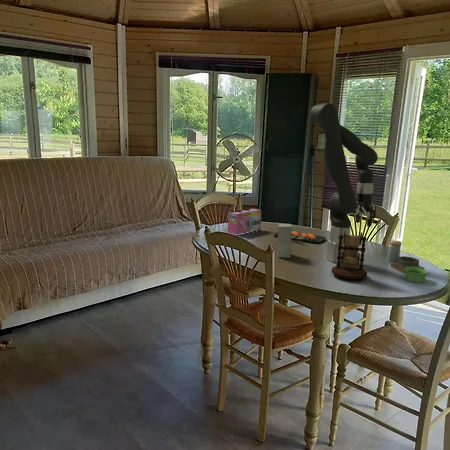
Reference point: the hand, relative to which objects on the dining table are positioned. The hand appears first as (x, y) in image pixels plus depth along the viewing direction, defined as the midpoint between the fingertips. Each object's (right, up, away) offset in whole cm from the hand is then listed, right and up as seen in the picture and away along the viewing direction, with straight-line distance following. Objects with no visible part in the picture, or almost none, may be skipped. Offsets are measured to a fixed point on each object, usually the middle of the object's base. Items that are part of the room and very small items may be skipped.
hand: (363, 224), depth 200 cm
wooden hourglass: (-14, -23, -23) cm, 35 cm away
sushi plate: (-28, -10, +34) cm, 46 cm away
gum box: (-56, -5, +51) cm, 76 cm away
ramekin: (+13, -24, -25) cm, 37 cm away
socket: (+16, -21, -12) cm, 29 cm away
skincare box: (-38, -16, +5) cm, 42 cm away
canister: (+15, -18, 0) cm, 23 cm away
